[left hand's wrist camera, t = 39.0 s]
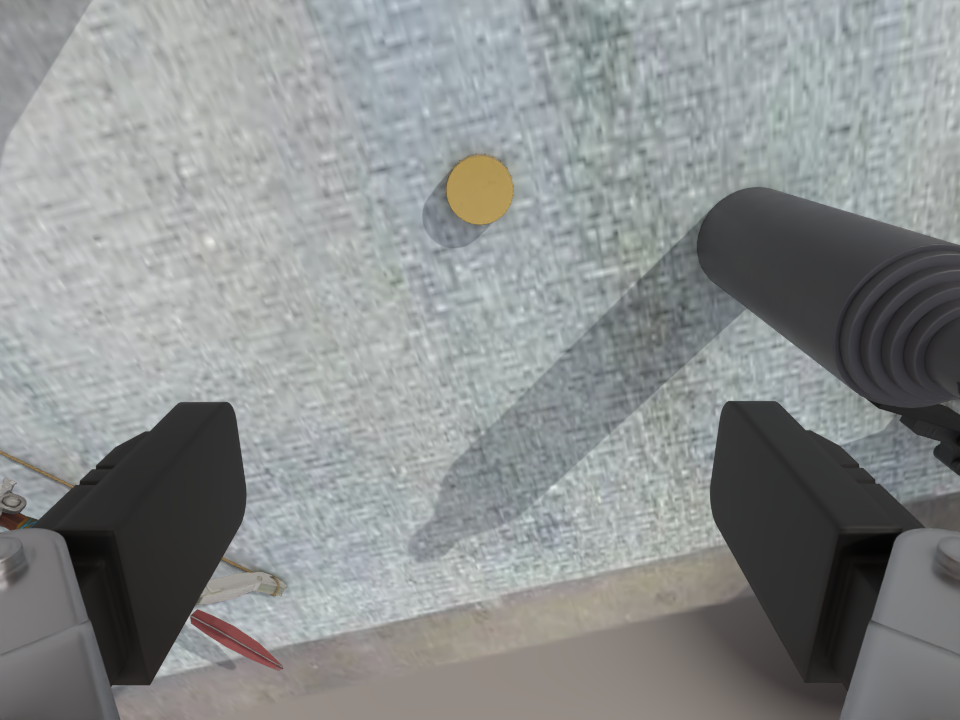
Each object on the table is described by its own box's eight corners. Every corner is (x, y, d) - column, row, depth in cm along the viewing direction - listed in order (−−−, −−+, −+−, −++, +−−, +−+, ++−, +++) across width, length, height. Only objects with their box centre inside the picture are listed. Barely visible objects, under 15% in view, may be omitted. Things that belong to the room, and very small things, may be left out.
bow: (313, 590, 58) (280, 685, 48) (303, 605, 58) (270, 701, 49) (-147, 368, 50) (-289, 429, 41) (-153, 387, 51) (-295, 452, 42)
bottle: (677, 231, 47) (875, 362, 23) (770, 164, 45) (1084, 232, 22) (730, 311, 49) (962, 505, 25) (821, 250, 47) (1159, 396, 24)
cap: (456, 227, 47) (455, 232, 45) (439, 162, 45) (438, 165, 43) (518, 212, 46) (520, 216, 45) (504, 146, 45) (505, 147, 43)
